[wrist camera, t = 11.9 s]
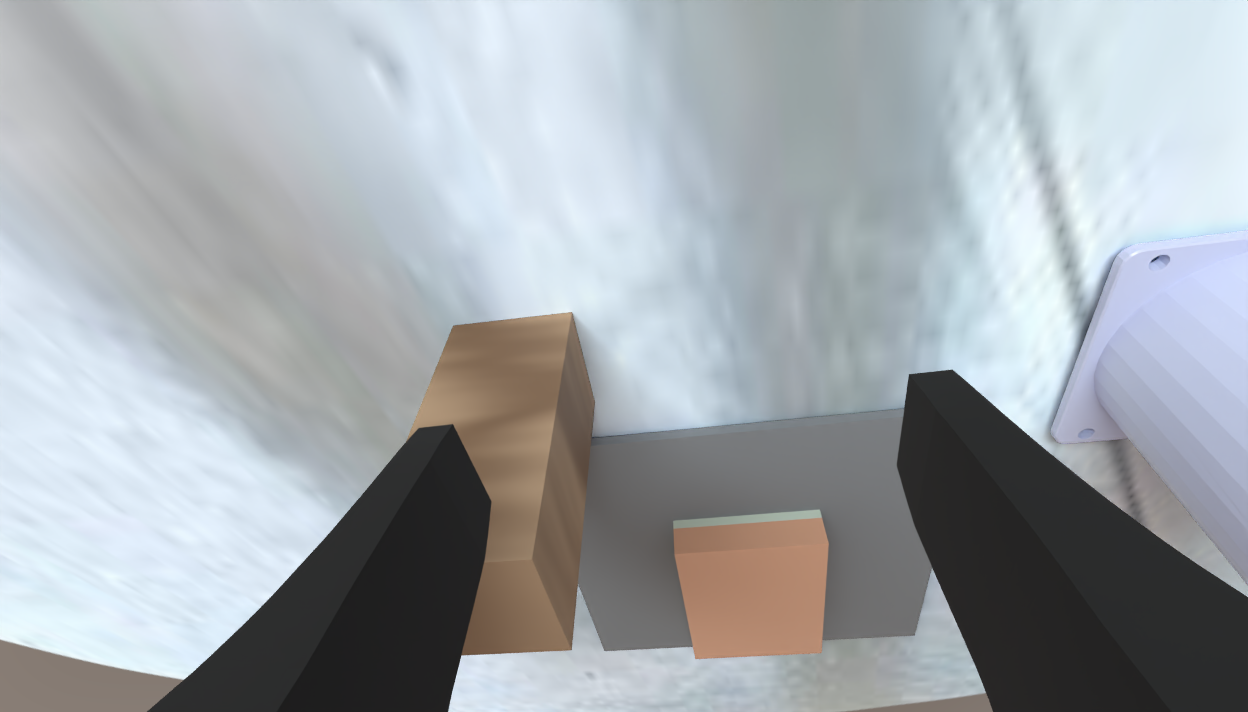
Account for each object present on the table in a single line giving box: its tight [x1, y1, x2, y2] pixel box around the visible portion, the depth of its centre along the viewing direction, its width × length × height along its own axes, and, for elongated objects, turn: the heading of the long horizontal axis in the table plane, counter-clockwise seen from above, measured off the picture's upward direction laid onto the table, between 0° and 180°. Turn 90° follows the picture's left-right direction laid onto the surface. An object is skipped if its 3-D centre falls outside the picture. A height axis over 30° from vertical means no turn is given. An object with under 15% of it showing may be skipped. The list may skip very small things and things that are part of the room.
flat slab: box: [673, 510, 829, 659], centre depth 28 cm, size 6×2×9 cm
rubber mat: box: [578, 409, 932, 651], centre depth 28 cm, size 16×16×1 cm
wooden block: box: [406, 312, 595, 655], centre depth 18 cm, size 4×4×9 cm
